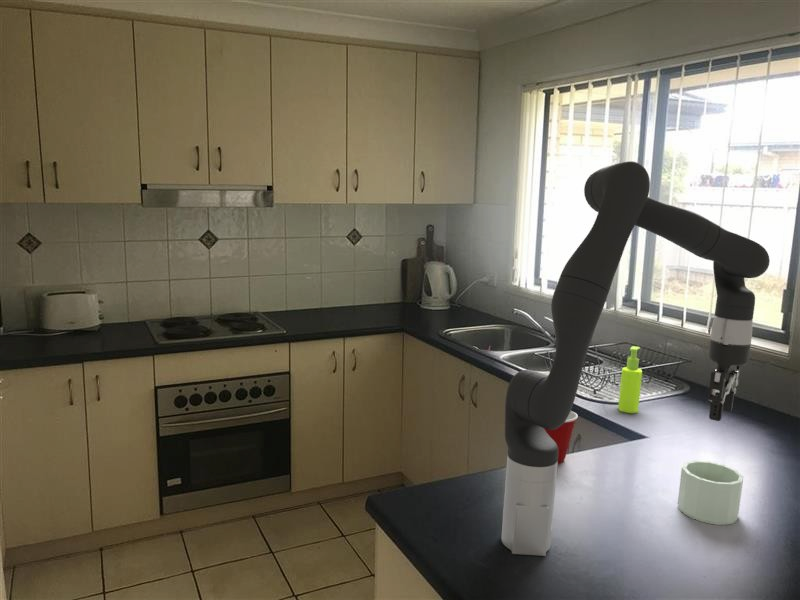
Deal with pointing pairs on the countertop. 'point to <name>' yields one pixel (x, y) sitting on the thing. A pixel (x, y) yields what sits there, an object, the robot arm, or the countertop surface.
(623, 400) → the soap dispenser
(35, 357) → the countertop surface
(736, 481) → the ceramic cup
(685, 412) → the countertop surface
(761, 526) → the countertop surface
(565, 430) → the plastic cup
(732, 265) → the robot arm
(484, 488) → the countertop surface
